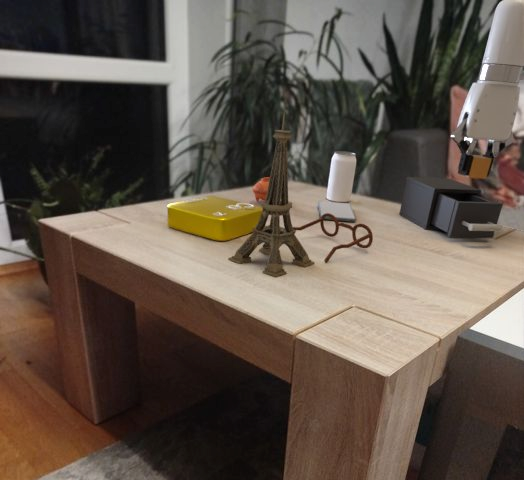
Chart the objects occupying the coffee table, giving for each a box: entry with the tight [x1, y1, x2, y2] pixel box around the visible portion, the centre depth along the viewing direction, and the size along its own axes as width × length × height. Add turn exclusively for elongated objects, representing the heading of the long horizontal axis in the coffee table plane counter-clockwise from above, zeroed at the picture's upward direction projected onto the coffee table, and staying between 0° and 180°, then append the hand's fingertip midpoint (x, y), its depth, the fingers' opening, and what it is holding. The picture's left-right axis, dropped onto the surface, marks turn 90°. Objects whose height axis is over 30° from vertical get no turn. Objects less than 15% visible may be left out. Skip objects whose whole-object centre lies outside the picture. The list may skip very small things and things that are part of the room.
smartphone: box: [317, 200, 357, 223], centre depth 121 cm, size 8×1×15 cm
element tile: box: [166, 195, 263, 242], centre depth 102 cm, size 15×15×5 cm
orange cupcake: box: [252, 176, 274, 203], centre depth 124 cm, size 8×8×7 cm
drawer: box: [430, 192, 504, 239], centre depth 109 cm, size 17×10×7 cm, turn 12°
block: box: [459, 154, 491, 180], centre depth 105 cm, size 4×4×4 cm
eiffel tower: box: [227, 100, 316, 278], centre depth 80 cm, size 11×11×25 cm
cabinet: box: [399, 176, 482, 231], centre depth 119 cm, size 14×12×9 cm
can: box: [326, 150, 357, 203], centre depth 133 cm, size 6×6×12 cm
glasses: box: [293, 213, 374, 264], centre depth 95 cm, size 13×13×5 cm
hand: (472, 174), depth 106 cm, fingers closed on block, 4 cm apart
